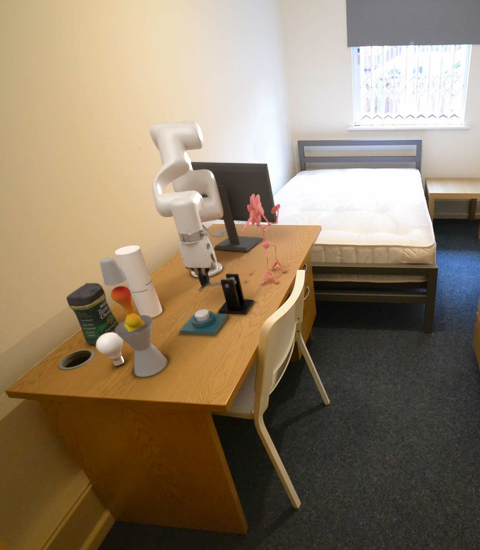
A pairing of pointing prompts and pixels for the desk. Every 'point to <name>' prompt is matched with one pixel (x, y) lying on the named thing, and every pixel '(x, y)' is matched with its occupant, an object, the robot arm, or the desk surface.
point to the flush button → (202, 315)
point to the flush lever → (214, 284)
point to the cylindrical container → (139, 280)
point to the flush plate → (204, 325)
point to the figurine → (255, 217)
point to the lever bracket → (234, 297)
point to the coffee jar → (92, 311)
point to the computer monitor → (240, 198)
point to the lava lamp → (133, 323)
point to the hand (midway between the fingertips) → (205, 283)
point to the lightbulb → (111, 347)
